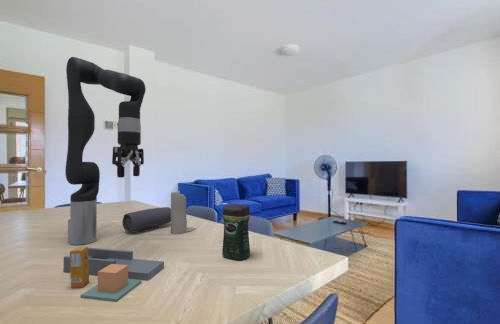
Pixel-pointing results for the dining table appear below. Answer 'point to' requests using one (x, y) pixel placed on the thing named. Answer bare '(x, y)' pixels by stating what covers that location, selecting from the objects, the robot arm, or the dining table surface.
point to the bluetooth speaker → (146, 219)
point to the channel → (109, 256)
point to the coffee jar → (236, 231)
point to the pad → (109, 296)
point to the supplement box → (79, 267)
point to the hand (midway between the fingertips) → (129, 176)
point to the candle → (179, 214)
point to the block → (112, 278)
